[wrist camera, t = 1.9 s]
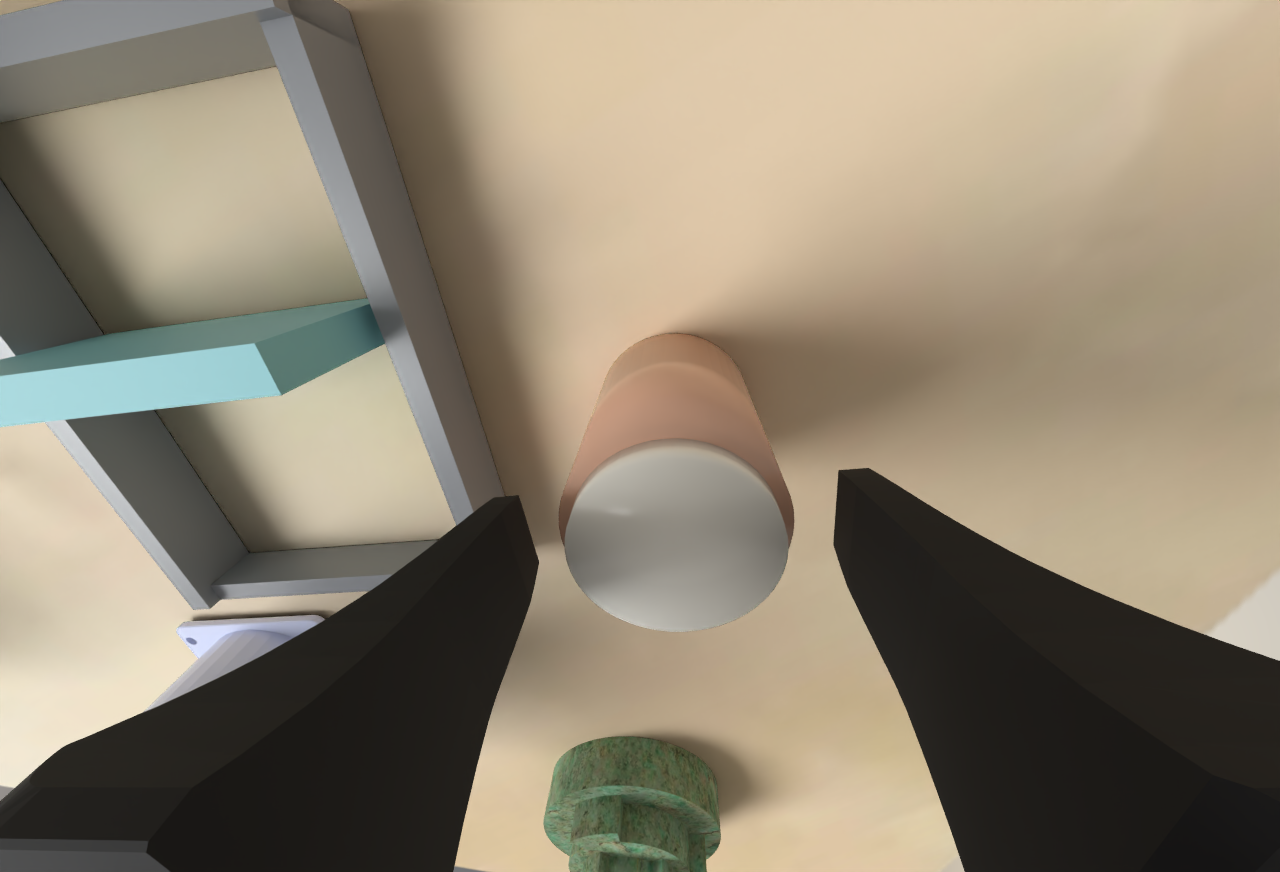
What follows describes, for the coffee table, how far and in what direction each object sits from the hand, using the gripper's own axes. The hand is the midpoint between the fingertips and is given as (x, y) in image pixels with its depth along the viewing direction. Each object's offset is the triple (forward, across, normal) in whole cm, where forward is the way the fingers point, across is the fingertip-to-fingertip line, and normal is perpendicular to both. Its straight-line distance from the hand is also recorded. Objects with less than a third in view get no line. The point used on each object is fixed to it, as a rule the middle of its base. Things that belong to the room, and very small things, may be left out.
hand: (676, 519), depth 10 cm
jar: (+7, 0, 0) cm, 7 cm away
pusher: (+6, +14, -4) cm, 16 cm away
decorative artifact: (+7, +5, +25) cm, 26 cm away
